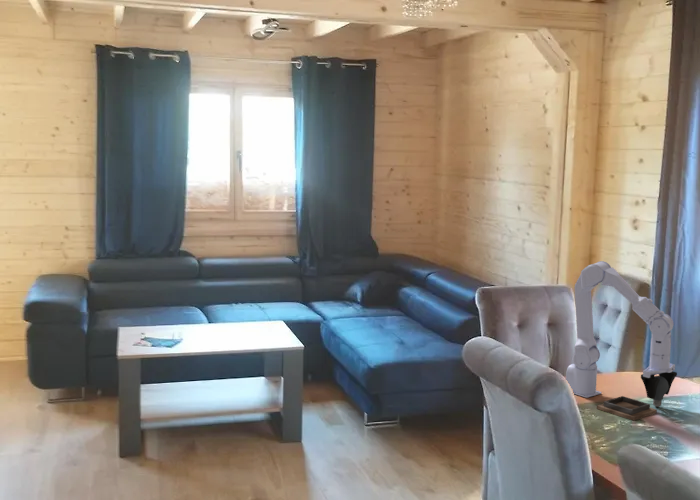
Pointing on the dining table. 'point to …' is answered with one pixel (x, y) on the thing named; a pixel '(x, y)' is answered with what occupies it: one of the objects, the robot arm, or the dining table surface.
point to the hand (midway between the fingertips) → (657, 395)
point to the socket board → (627, 408)
